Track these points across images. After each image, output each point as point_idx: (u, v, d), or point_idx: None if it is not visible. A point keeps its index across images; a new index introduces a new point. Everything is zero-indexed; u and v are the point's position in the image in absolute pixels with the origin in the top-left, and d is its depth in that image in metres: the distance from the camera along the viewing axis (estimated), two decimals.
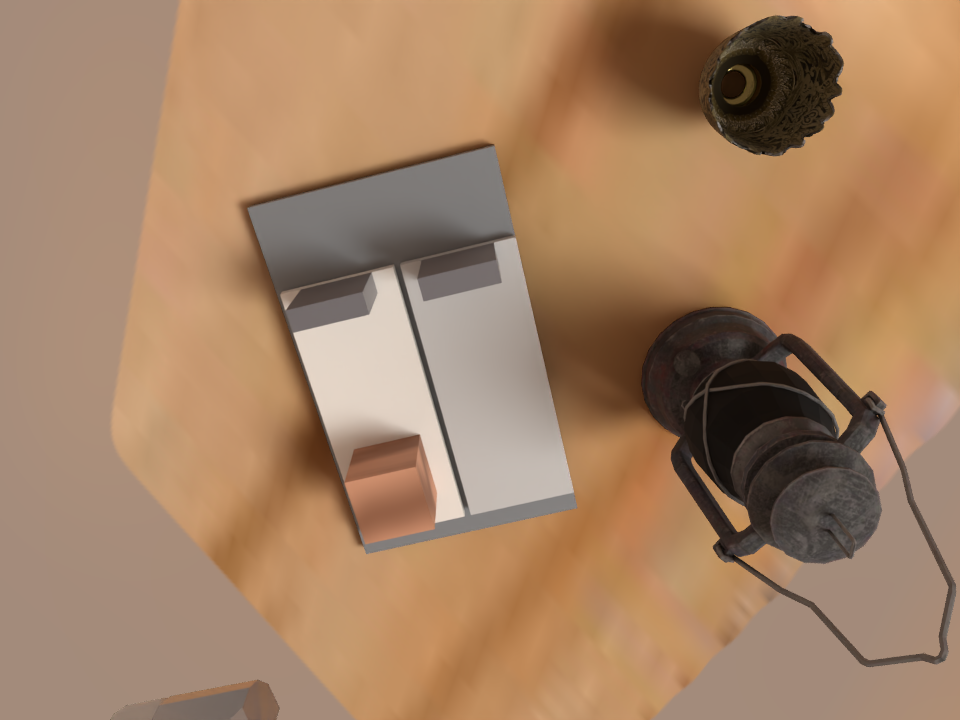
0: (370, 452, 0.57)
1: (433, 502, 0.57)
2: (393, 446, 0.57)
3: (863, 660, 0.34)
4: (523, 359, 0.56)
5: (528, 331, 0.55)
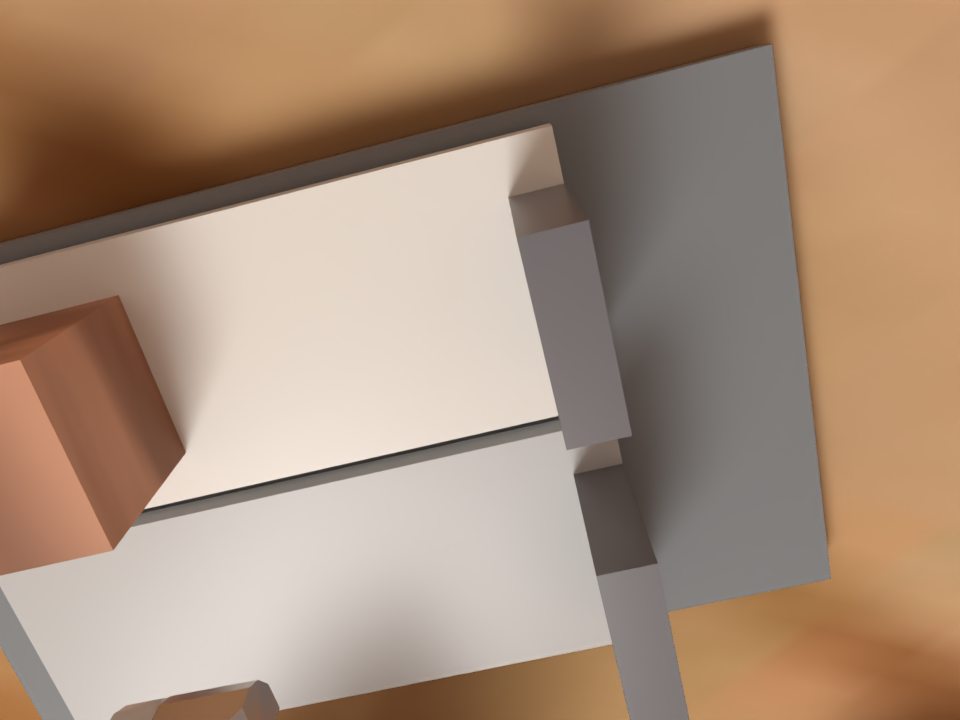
0: (120, 355, 0.21)
1: None
2: (146, 409, 0.22)
3: None
4: (392, 653, 0.26)
5: (456, 660, 0.26)
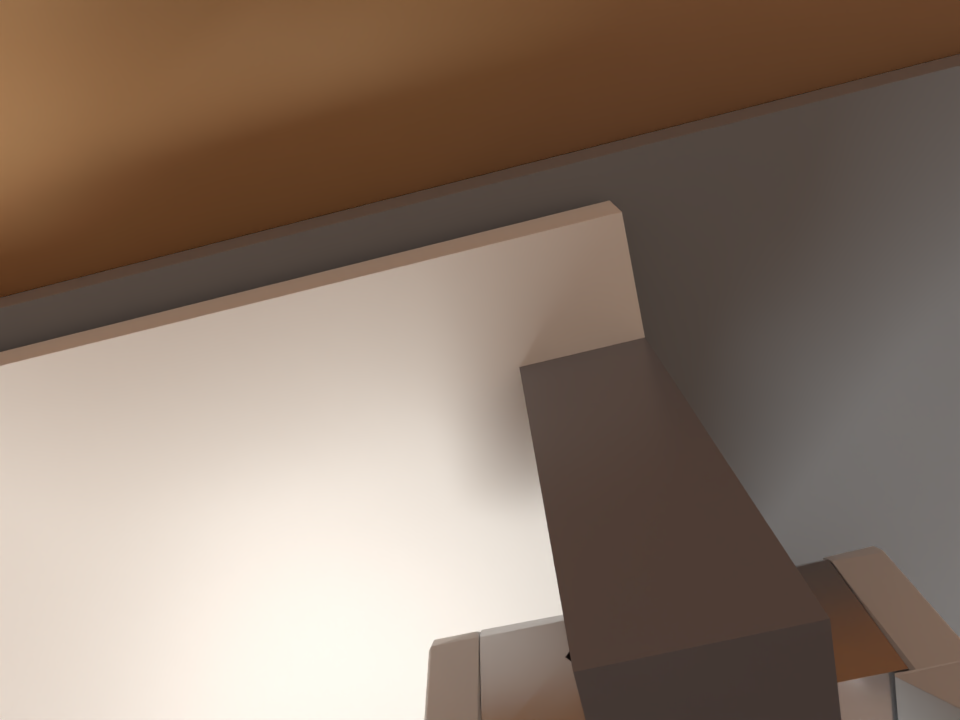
0: None
1: None
2: None
3: None
4: None
5: None
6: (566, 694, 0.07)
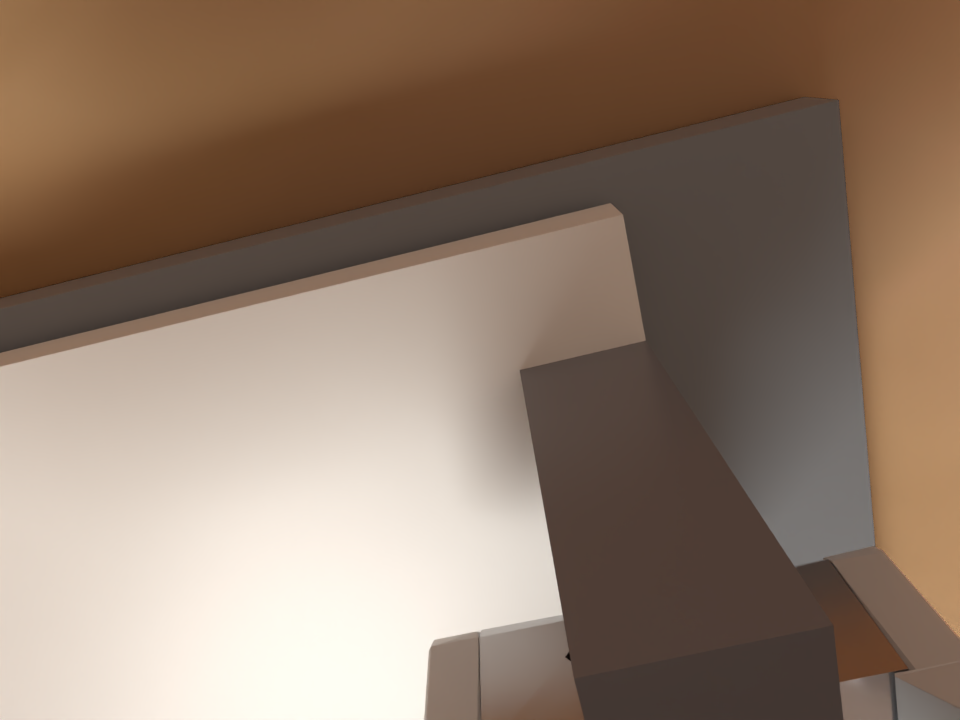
0: None
1: None
2: None
3: None
4: None
5: None
6: (566, 694, 0.07)
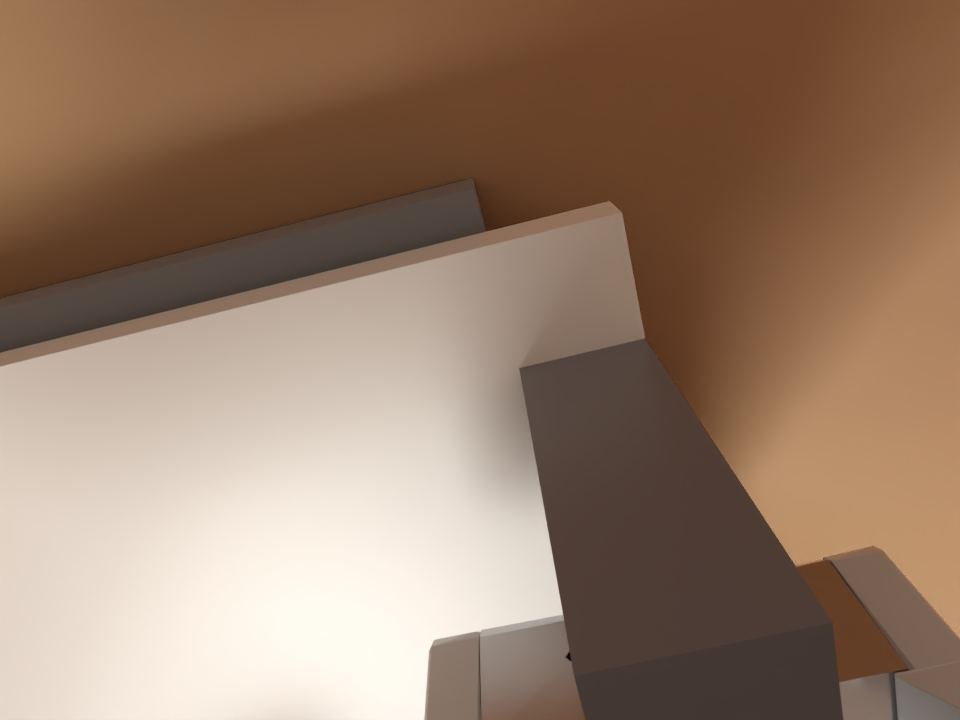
0: None
1: None
2: None
3: None
4: None
5: None
6: (566, 694, 0.07)
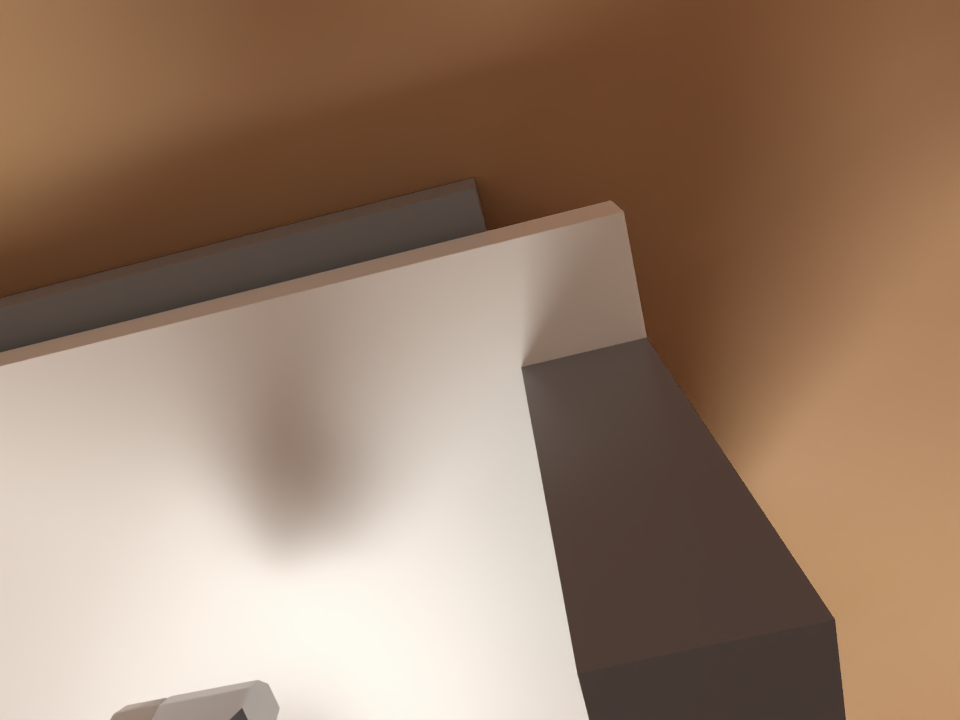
0: None
1: None
2: None
3: None
4: None
5: None
6: None
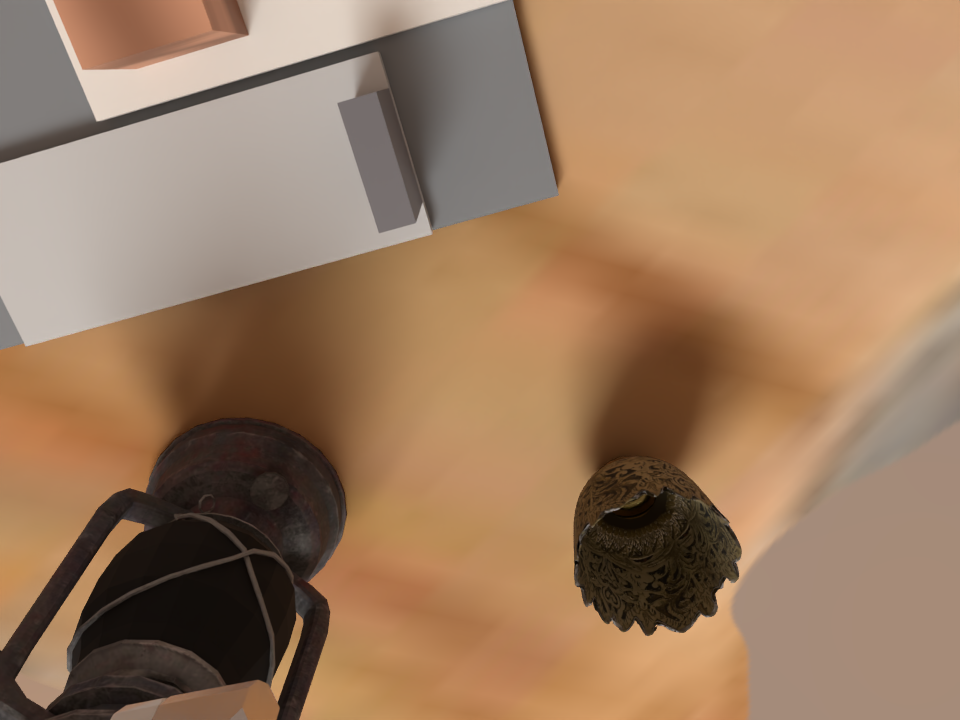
0: None
1: (127, 64, 0.31)
2: None
3: None
4: (241, 255, 0.36)
5: (288, 260, 0.36)
6: None
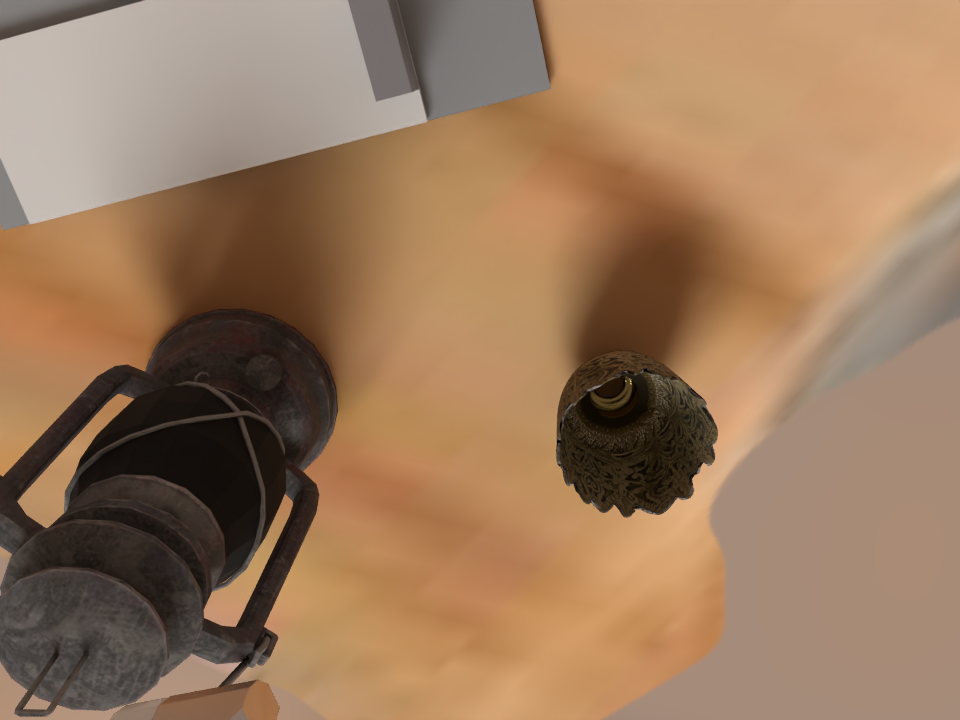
0: None
1: None
2: None
3: None
4: (242, 138, 0.37)
5: (287, 144, 0.37)
6: None
